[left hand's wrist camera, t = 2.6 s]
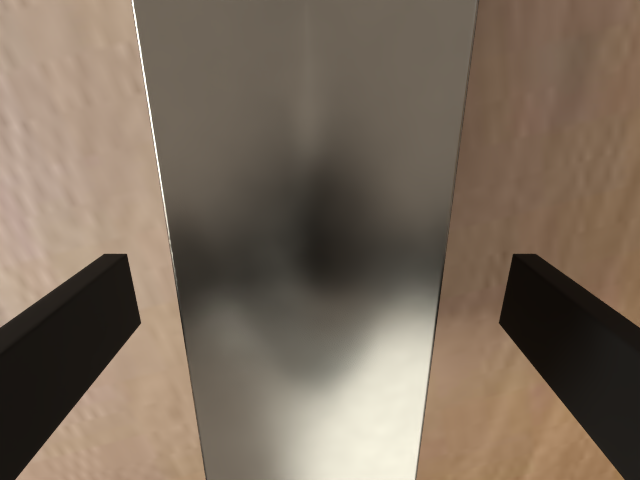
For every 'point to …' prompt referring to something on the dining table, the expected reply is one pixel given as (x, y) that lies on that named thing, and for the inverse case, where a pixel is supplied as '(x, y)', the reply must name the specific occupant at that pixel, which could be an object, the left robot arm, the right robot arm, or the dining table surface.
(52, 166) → the dining table surface
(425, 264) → the bar
